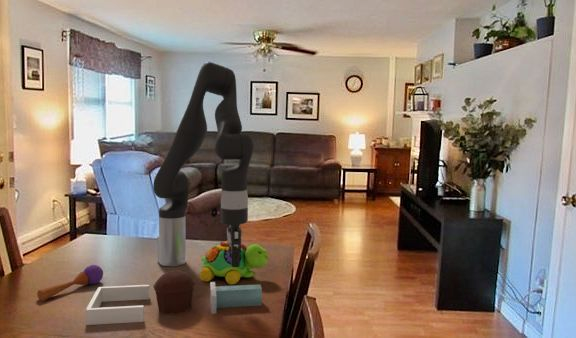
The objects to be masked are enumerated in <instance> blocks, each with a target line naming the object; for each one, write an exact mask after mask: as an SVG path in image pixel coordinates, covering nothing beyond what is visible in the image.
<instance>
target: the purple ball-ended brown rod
mask: <svg viewBox="0 0 576 338" xmlns="http://www.w3.org/2000/svg"><path fill="white" fill-rule="evenodd" d="M103 276H104V271H103V269H102V267H101V266H99V265H97V264H91V265H89V266H87V267H85V269H83V271H81V272H79V273H78V275H77V276H75V278H74V279H73V280H72V281H71V280H70V281H67V282H64V283H60V284H57V285H54V286H53V285H52V286H49V287H46V288H43V289H40V290H39V289H38V290H37V293H36V295H37V298H38V300H39V301H41V302H44V301H46V300H48V299H50V298H52V297H54V296H56V295H57V294H59V293H61V292H62V291H65V290H67V289H68V288H71V287H72V286H74V285H78V286H79V285H80V286H86V285H96V284H98V283H100V281H101V280H102V279H103Z"/></svg>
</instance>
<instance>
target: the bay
mask: <svg viewBox="0 0 576 338" xmlns="http://www.w3.org/2000/svg"><path fill="white" fill-rule="evenodd" d="M141 300H150V284H137V285H116V286H115V285H114V286H98V287H97V289H96V290H95V293H94V295H93V296H92V297H91V300H90V302H89V303H88V305H87V307H86V309H85V326H92V325H110V324H126V323H129V324H131V323H143V322H144V321H145V312H144V311H145V310H144V309H145V306H144V305H143V304H141V305H126V306H107V307H106V306H105V307H100V306H101V305H102V302H120V301H122V302H123V301H141Z"/></svg>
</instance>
